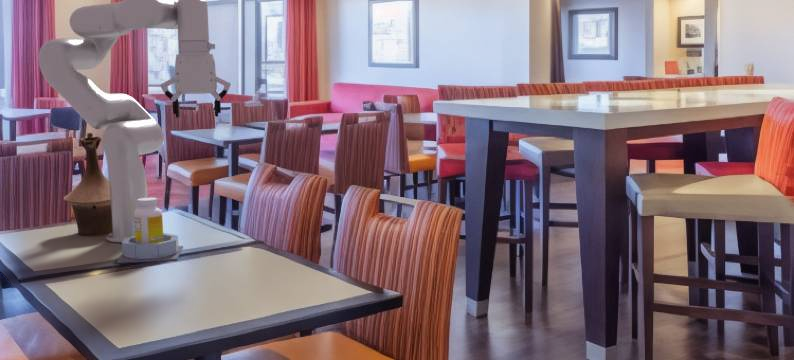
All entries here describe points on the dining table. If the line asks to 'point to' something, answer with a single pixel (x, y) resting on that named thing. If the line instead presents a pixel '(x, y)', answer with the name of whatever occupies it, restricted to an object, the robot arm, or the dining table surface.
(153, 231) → the supplement bottle
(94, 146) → the brown tall tapered piece
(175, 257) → the mat
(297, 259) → the dining table surface
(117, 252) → the dining table surface
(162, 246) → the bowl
